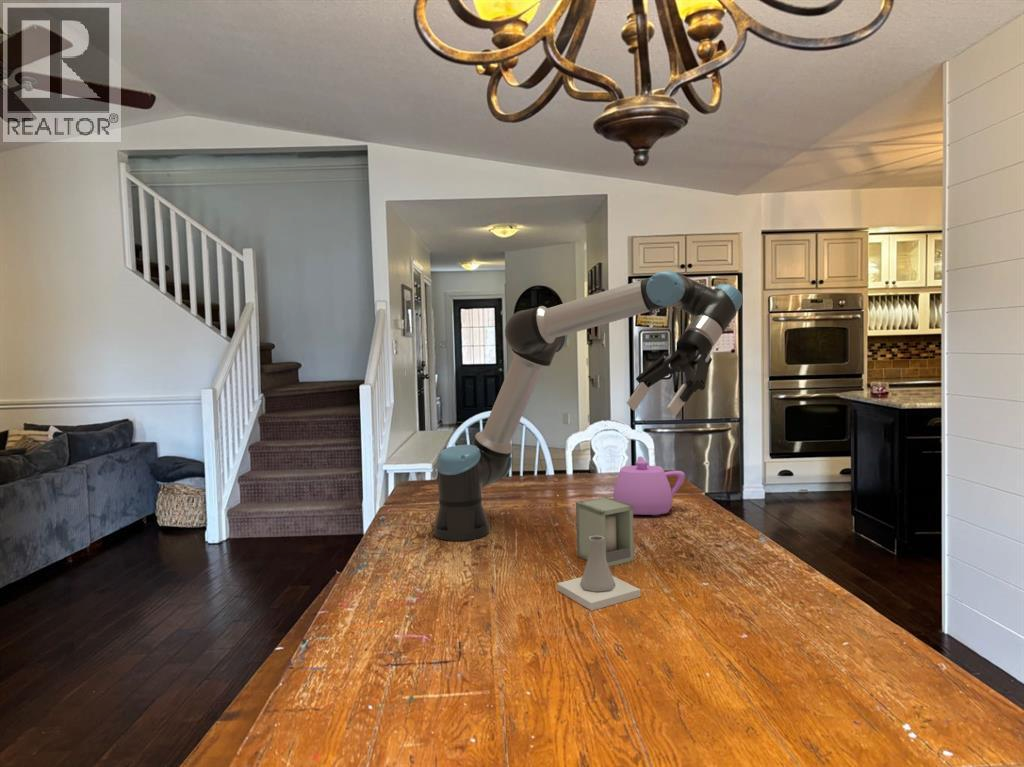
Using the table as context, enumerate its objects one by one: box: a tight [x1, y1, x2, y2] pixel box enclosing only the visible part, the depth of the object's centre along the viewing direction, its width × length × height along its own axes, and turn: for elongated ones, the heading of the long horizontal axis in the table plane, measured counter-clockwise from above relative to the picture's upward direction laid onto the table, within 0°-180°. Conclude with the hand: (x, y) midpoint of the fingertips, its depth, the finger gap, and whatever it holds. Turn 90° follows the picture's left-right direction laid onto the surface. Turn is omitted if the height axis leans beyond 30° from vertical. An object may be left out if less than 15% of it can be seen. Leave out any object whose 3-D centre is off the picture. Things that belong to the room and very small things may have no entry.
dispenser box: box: [575, 496, 635, 568], centre depth 149 cm, size 10×9×13 cm
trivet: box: [556, 575, 641, 611], centre depth 129 cm, size 12×12×2 cm
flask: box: [580, 535, 615, 591], centre depth 128 cm, size 7×7×10 cm
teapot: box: [612, 456, 686, 517], centre depth 191 cm, size 23×21×15 cm
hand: (650, 409), depth 141 cm, fingers open, 13 cm apart
